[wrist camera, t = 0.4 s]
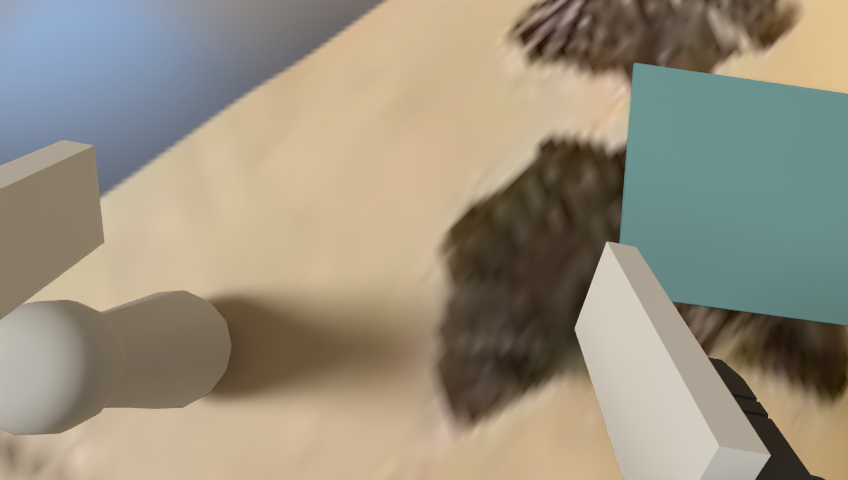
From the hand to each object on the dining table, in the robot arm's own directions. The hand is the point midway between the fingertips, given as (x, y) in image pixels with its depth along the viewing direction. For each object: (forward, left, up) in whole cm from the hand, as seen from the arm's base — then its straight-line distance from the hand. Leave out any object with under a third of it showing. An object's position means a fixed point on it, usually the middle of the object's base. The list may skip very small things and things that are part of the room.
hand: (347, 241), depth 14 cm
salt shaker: (-5, +10, -16) cm, 20 cm away
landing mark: (+8, -20, -16) cm, 27 cm away
